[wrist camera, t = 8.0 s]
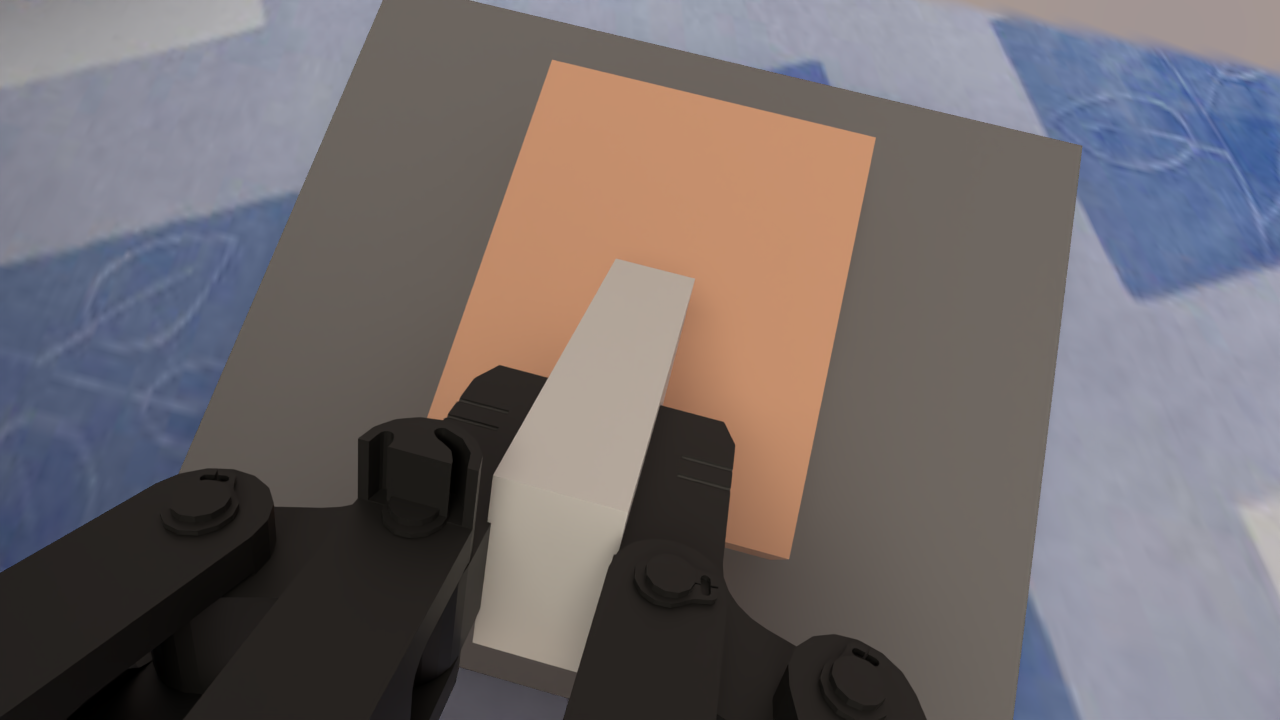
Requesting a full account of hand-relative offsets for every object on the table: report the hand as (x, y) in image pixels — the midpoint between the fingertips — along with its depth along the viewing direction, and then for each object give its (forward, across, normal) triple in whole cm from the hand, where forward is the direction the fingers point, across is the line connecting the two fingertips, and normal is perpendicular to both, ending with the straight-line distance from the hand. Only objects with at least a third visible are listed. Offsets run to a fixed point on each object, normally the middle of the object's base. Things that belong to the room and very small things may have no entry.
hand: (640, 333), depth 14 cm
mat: (+4, 0, -3) cm, 5 cm away
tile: (0, 0, -5) cm, 5 cm away
